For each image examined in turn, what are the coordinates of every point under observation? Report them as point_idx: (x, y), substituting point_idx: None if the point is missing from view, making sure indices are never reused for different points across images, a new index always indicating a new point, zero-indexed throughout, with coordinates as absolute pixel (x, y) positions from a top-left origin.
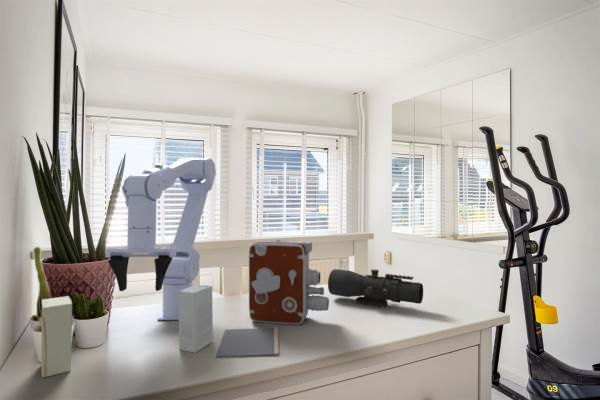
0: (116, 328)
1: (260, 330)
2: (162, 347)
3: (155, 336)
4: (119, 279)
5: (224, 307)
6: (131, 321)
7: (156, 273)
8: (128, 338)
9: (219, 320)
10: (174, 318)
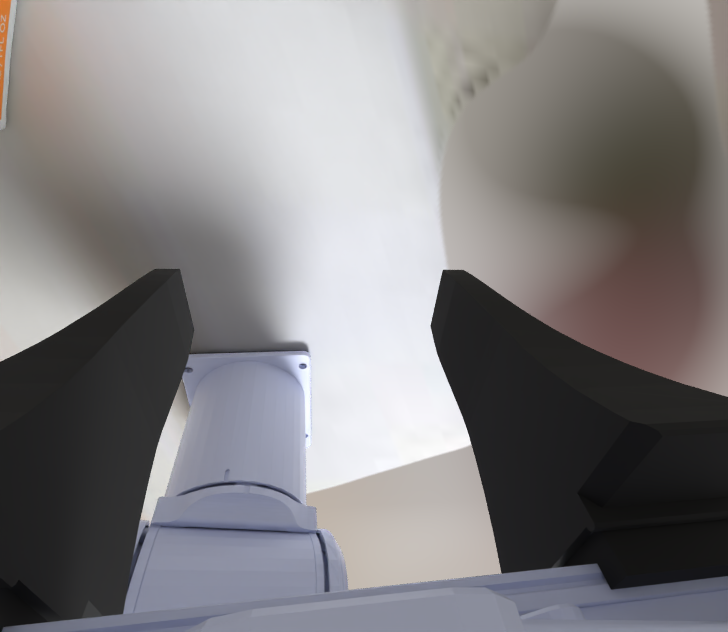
0: None
1: None
2: (144, 30)
3: (248, 189)
4: (499, 310)
5: None
6: (403, 348)
7: (92, 348)
8: (361, 179)
9: None
10: (239, 355)
